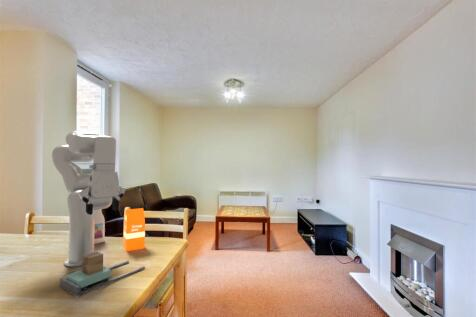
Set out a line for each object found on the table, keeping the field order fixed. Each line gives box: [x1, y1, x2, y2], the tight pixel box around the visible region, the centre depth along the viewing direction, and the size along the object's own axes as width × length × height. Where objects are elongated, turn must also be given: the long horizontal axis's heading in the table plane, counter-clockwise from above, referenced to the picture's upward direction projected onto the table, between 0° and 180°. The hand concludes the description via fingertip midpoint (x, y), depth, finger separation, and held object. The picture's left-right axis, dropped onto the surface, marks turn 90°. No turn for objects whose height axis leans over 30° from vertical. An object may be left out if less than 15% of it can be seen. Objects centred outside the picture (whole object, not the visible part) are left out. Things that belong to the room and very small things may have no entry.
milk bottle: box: [91, 209, 106, 245], centre depth 137 cm, size 8×8×20 cm
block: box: [81, 250, 104, 275], centre depth 91 cm, size 5×5×6 cm
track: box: [59, 260, 146, 297], centre depth 95 cm, size 12×26×3 cm, turn 147°
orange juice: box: [123, 207, 146, 252], centre depth 128 cm, size 8×9×20 cm
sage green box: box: [65, 266, 112, 291], centre depth 89 cm, size 9×11×4 cm
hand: (102, 212), depth 96 cm, fingers open, 9 cm apart
